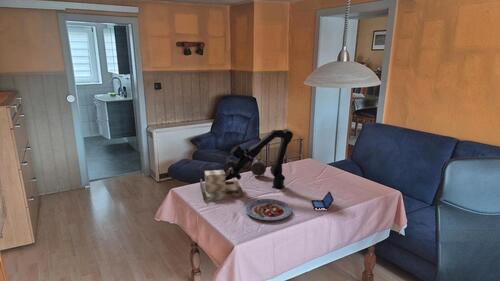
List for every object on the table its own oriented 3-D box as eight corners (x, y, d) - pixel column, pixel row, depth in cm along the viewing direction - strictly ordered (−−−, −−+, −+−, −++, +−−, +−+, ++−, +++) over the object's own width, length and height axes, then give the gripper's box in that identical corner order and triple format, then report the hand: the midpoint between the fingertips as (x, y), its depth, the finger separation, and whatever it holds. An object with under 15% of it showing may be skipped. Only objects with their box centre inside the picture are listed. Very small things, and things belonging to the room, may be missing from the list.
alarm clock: (266, 175, 237) (266, 154, 233) (265, 178, 232) (266, 156, 228) (251, 174, 238) (251, 153, 234) (250, 177, 233) (250, 155, 229)
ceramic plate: (272, 198, 199) (273, 194, 198) (300, 215, 178) (301, 210, 177) (236, 208, 185) (236, 203, 184) (262, 228, 164) (262, 223, 163)
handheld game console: (310, 201, 196) (311, 190, 194) (328, 202, 195) (329, 190, 193) (313, 211, 183) (314, 199, 182) (333, 211, 183) (334, 199, 181)
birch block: (223, 185, 211) (223, 169, 208) (225, 190, 203) (225, 174, 200) (205, 187, 208) (204, 171, 205) (206, 192, 200) (205, 175, 197)
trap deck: (237, 183, 220) (237, 176, 219) (244, 197, 200) (244, 188, 198) (200, 186, 214) (200, 179, 213) (203, 200, 194) (203, 192, 192)
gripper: (230, 150, 211) (213, 167, 212) (235, 159, 194) (217, 177, 194) (242, 161, 215) (225, 178, 215) (248, 170, 198) (230, 189, 198)
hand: (224, 180), depth 206 cm, fingers closed, pressing on birch block
